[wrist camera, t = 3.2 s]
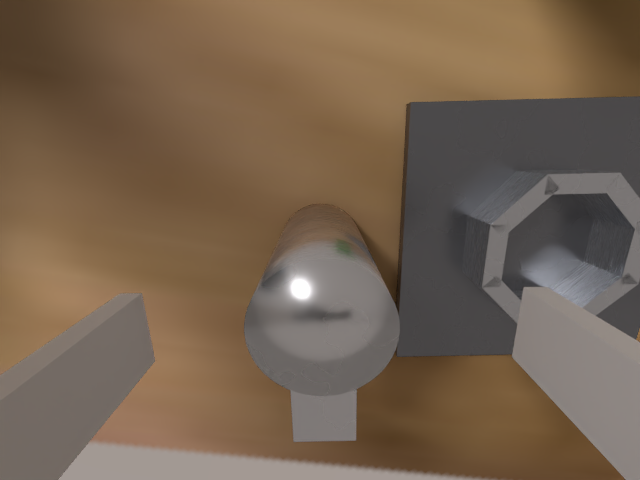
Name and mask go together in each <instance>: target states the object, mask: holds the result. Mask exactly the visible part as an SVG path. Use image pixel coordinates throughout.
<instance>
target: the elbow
mask: <svg viewBox="0 0 640 480" xmlns="http://www.w3.org/2000/svg"><path fill="white" fill-rule="evenodd" d="M244 334H245V340H246V344H247V347H248V350H249V353H250V355H251V357H252V359H253V360H254V362H255V363H256V365H257V366H258V367H259V368H260V370H261V371H262V372H263V373H264V374H265V375H266V376H268V377H269V378H270V379H271V380H273V381H274V382H276V383H277V384H279V385H280V386H282V387H284V388H286V389H289V390H290V391H291V407H292V424H293V440H294V442H310V441H356V405H357V388H360V387H361V386H363V385H365V384H367V383H368V382H370V381H371V380H373V379H374V378H375V377H376V376H377V375H379V374H380V373H381V372H382V371H383V369H384V368H385V367H386V366H387V365H388V363H389V362H390V360H391V358H392V357H393V355H394V352H395V350H396V347H397V344H398V340H399V334H400V321H399V315H398V311H397V308H396V305H395V303H394V301H393V299H392V297H391V295H390V293H389V291H388V289H387V287H386V284H385V282H384V280H383V278H382V276H381V274H380V272H379V270H378V268H377V266H376V264H375V262H374V260H373V258H372V256H371V254H370V252H369V250H368V248H367V246H366V244H365V242H364V240H363V238H362V236H361V234H360V232H359V230H358V228H357V226H356V224H355V222H354V221H353V219H352V218H351V217H350V216H349V215H348V214H347V213H346V212H345V211H343V210H342V209H340V208H338V207H336V206H332V205H328V204H314V205H309V206H307V207H304V208H302V209H300V210H299V211H297V212H296V213H295V214H294V215H293V216H292V217H291V218H290V219H289V220H288V222H287V223H286V225H285V227H284V230H283V232H282V234H281V236H280V238H279V240H278V243H277V245H276V247H275V249H274V251H273V253H272V256H271V258H270V260H269V262H268V264H267V266H266V269H265V271H264V273H263V275H262V277H261V279H260V282H259V284H258V286H257V288H256V290H255V292H254V295H253V297H252V299H251V301H250V303H249V306H248V308H247V312H246V315H245V323H244Z"/></svg>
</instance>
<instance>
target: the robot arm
mask: <svg viewBox="0 0 640 480" xmlns="http://www.w3.org/2000/svg"><path fill="white" fill-rule="evenodd" d="M512 358H513V359H514V360H515V361H516V362H517V363H518V364H519V365H520V366H521V367H522V368H523V369H524V371H525V372H526V373H527V374H528V375H529V376H530V377H531V378H532V379H533V380H534V381H535V382H536V383H537V385H538V386H539V387H540V388H541V389H542V390H543V391H544V392H545V393H546V394H547V395H548V396H549V397H550V399H551V400H552V401H553V402H554V403H555V404H556V405H557V406H558V407H559V408H560V409H561V410H562V411H563V413H564V414H565V415H566V416H567V417H568V418H569V419H570V420H571V421H572V422H573V423H574V424H575V425H576V427H577V428H578V429H579V430H580V431H581V432H582V433H583V434H584V435H585V436H586V437H587V438H588V439H589V441H590V442H591V443H592V444H593V445H594V446H595V447H596V448H597V449H598V450H599V451H600V452H601V453H602V455H603V456H604V457H605V458H606V459H607V460H608V461H609V462H610V463H611V464H612V465H613V466H614V467H615V469H616V470H617V471H618V472H619V473H620V474H621V475H622V476H623V477H624V478H625V479H626V480H640V342H639V341H637V340H635V339H634V338H632V337H630V336H629V335H627V334H625V333H624V332H622V331H620V330H618V329H617V328H615V327H613V326H612V325H610V324H608V323H607V322H605V321H603V320H602V319H600V318H598V317H597V316H595V315H593V314H592V313H590V312H588V311H586V310H585V309H583V308H581V307H580V306H578V305H576V304H575V303H573V302H571V301H570V300H568V299H566V298H565V297H563V296H561V295H560V294H558V293H556V292H554V291H553V290H551V289H549V288H548V287H524V288H523V294H522V300H521V306H520V312H519V318H518V323H517V329H516V335H515V341H514V347H513V353H512ZM154 362H155V357H154V352H153V347H152V342H151V337H150V332H149V327H148V322H147V317H146V312H145V307H144V302H143V296H142V293H124V294H119V295H117V296H116V297H114V298H113V299H111V300H110V301H108V302H107V303H106V304H104V305H103V306H101V307H100V308H98V309H97V310H95V311H94V312H92V313H91V314H89V315H88V316H86V317H85V318H83V319H82V320H81V321H79V322H78V323H76V324H75V325H73V326H72V327H70V328H69V329H67V330H66V331H64V332H63V333H61V334H60V335H59V336H57V337H56V338H54V339H53V340H51V341H50V342H48V343H47V344H45V345H44V346H42V347H41V348H39V349H38V350H36V351H35V352H34V353H32V354H31V355H29V356H28V357H26V358H25V359H23V360H22V361H20V362H19V363H17V364H16V365H14V366H13V367H12V368H10V369H9V370H7V371H6V372H4V373H3V374H1V375H0V480H58V479H59V478H60V477H61V476H62V474H63V473H64V472H65V471H66V469H67V468H68V467H69V466H70V464H71V463H72V462H73V461H74V460H75V458H76V457H77V456H78V455H79V454H80V452H81V451H82V450H83V449H84V447H85V446H86V445H87V444H88V443H89V441H90V440H91V439H92V438H93V436H94V435H95V434H96V433H97V432H98V430H99V429H100V428H101V427H102V425H103V424H104V423H105V422H106V421H107V419H108V418H109V417H110V416H111V414H112V413H113V412H114V411H115V410H116V408H117V407H118V406H119V405H120V403H121V402H122V401H123V400H124V399H125V397H126V396H127V395H128V394H129V392H130V391H131V390H132V389H133V388H134V386H135V385H136V384H137V383H138V381H139V380H140V379H141V378H142V377H143V375H144V374H145V373H146V372H147V370H148V369H149V368H150V367H151V366H152V364H153V363H154Z"/></svg>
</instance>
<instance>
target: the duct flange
mask: <svg viewBox="0 0 640 480" xmlns="http://www.w3.org/2000/svg"><path fill="white" fill-rule="evenodd" d="M524 287H548V288H549V289H551V290H553V291H554V292H556V293H558V294H560V295H561V296H563V297H565V298H566V299H568V300H570V301H571V302H573V303H575V304H576V305H578V306H580V307H581V308H583V309H585V310H586V311H588V312H590V313H592V314H593V315H595V316H597V317H598V318H600V319H602V320H603V321H605V322H607V323H608V324H610V325H612V326H613V327H615V328H617V329H618V330H620V331H622V332H624V333H625V334H627V335H629V336H630V337H632V338H634V339H635V340H636V338H637V335H638V331H639V328H640V97H602V98H563V99H523V100H483V101H444V102H411V103H409V104H407V109H406V128H405V148H404V167H403V186H402V206H401V225H400V244H399V263H398V283H397V302H396V308H397V311H398V315H399V321H400V334H399V340H398V344H397V347H396V350H395V353H396V356H397V357H406V356H455V355H503V354H512V353H513V347H514V341H515V335H516V329H517V323H518V318H519V312H520V306H521V300H522V294H523V288H524Z"/></svg>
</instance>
